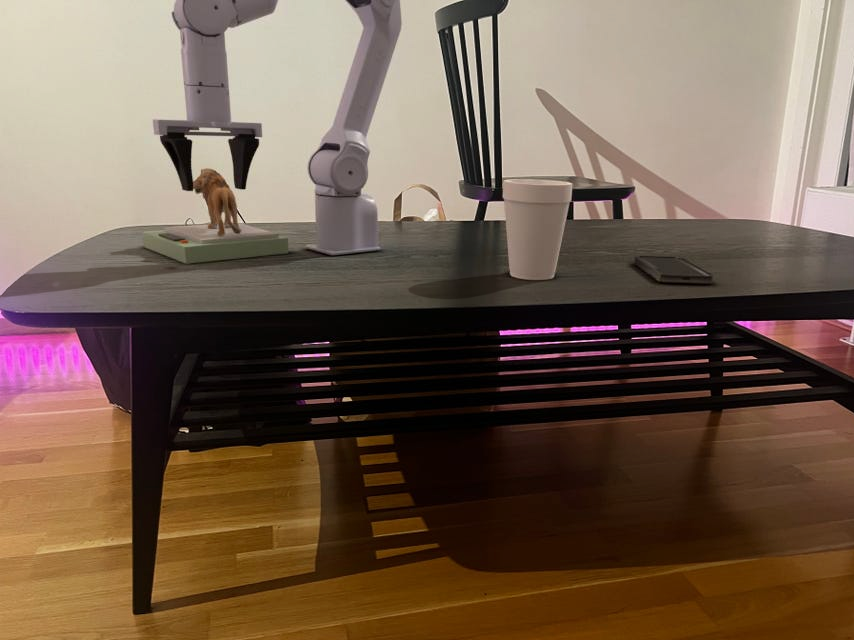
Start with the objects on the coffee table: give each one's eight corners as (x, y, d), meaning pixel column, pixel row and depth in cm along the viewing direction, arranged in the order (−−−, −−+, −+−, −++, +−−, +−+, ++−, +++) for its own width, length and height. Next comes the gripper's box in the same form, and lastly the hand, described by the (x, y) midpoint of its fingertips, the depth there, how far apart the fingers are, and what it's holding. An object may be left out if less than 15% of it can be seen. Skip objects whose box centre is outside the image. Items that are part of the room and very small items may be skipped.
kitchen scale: (240, 239, 120) (239, 221, 119) (288, 253, 109) (287, 233, 108) (143, 247, 109) (141, 227, 108) (186, 263, 98) (184, 242, 97)
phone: (681, 257, 112) (715, 276, 98) (680, 264, 113) (714, 284, 99) (632, 255, 112) (660, 274, 98) (632, 262, 112) (659, 282, 98)
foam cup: (557, 285, 95) (564, 186, 90) (491, 278, 97) (496, 182, 93) (569, 272, 103) (577, 181, 99) (509, 266, 106) (513, 178, 101)
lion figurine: (191, 225, 113) (186, 167, 110) (225, 223, 116) (220, 167, 113) (222, 238, 102) (217, 174, 99) (258, 236, 105) (254, 174, 102)
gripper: (163, 83, 87) (174, 194, 92) (270, 90, 97) (275, 190, 101) (142, 83, 92) (154, 189, 97) (246, 90, 102) (252, 186, 106)
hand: (214, 189), depth 99 cm, fingers open, 7 cm apart
